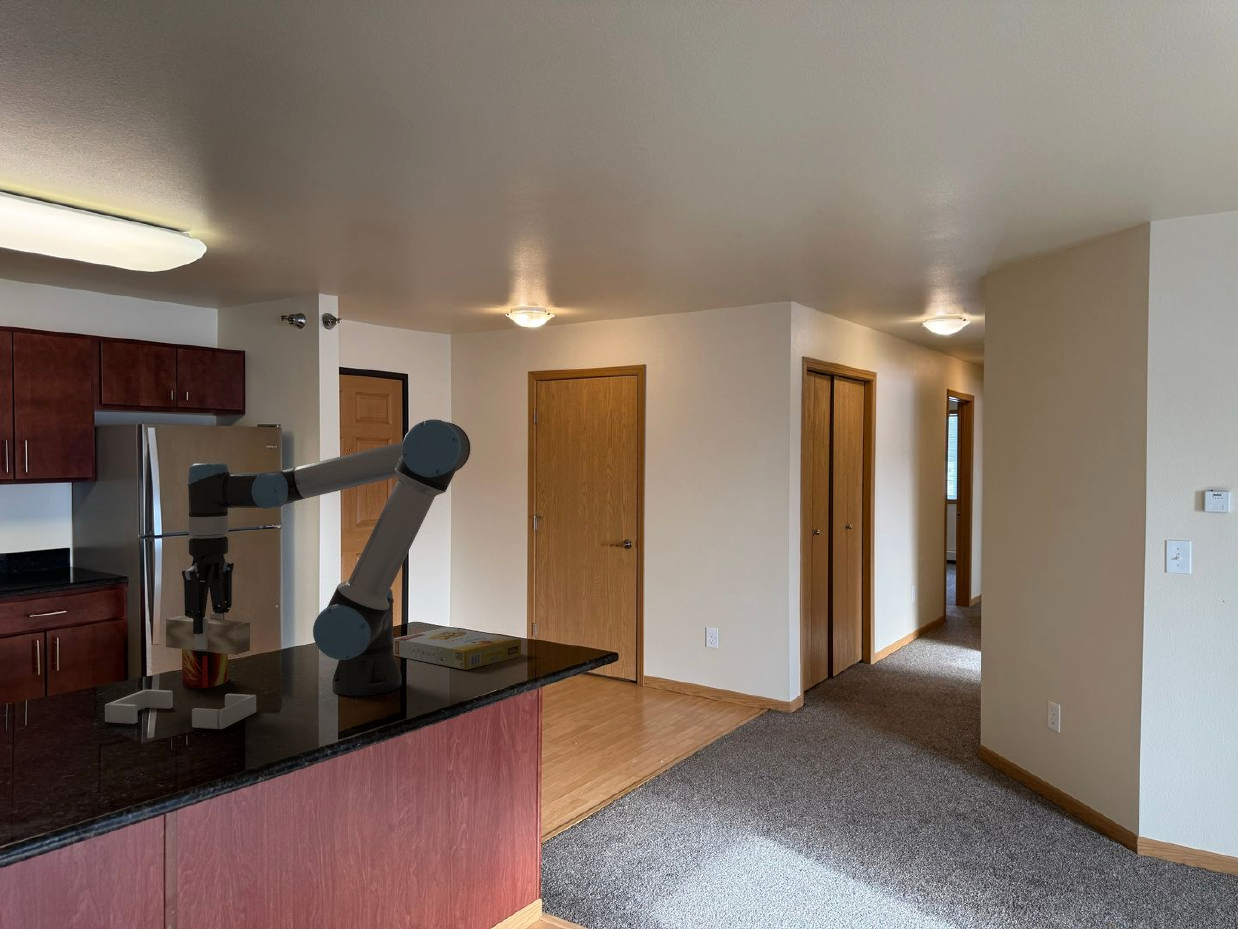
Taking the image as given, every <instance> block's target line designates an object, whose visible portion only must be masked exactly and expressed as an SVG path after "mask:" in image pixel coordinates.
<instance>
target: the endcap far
mask: <svg viewBox="0 0 1238 929" xmlns="http://www.w3.org/2000/svg"><path fill="white" fill-rule="evenodd" d="M173 693H174V691H173V690H166V689H165V690H164V689H163V690H162V689H148V688H147V689H142V690H140V691H138V692H135V693H132V694H129V695H127V696H125V697H122V698H119V699H117V700H114V701H111V702H108V703H105V704H104V722H105V723H115V724H117V723H118V724H130V725H135V724H136V723H138V711H141V710H144V709H147V708H151V709H153V708H154V709H167V710H168V709H172V708H173V707H174V704H173V703H174V702H173V701H174V698H173V695H174V694H173Z"/></svg>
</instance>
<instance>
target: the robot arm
mask: <svg viewBox="0 0 1238 929" xmlns="http://www.w3.org/2000/svg"><path fill="white" fill-rule="evenodd" d="M471 448H472V447H471V441H470V439H469V436H468V435H467V433H466V431H465V430H464V429H463V428H462V427H460V426H459V425H457V424H455V423H453V422H448V421H444V420H441V419H426V420H423V421H421V422H419V423H417V424H415V425H414V426H412V427H411V428H410V429H409V430H408V431H407V433H406V434H405V437H404V438H403V441H401V442H396V443H391V444H387V445H383V446H379V447H374V448H372V449H367V450H363V451H358V452H354V453H349V454H346V455H345V454H344V455H342V456H336V457H332V458H328V459H325V460H320V461H315V462H312V463H308V464H303V465H299V466H296V467H295V466H294V467H290V468H286V469H282V470H277V471H263V472H260V471H259V472H231V471H230V472H229V468H228V467H229V466H228V464H226V463H210V462H209V463H207V462H206V463H204V462H203V463H192V464H191V465H190V466H189V467H188V468H189V469H188V483H187V487H188V488H187V489H188V490H187V492H188V535H189V536H191V537H190V538H189V539H188V554H189V556H191V557H192V562H191V567H189V568H188V569H182V570H181V576H182V580H183V588H184V589H183V591H184V592H183V593H184V594H183V595H184V598H183V600H184V616H186V617H188V618H193V633H194V649H204V650H206V649H208V618H210V619H221V620H225V614H228V613H229V612H230V608H232V604H233V600H232V598H233V571H234V566H235V563H234V562H230V561H229V562H228V561H226V558H225V555H226V554H228V553H229V538H228V537H227V536H226V535H227V534H228V533H229V509H237V508H238V509H263V510H267V509H275V508H276V509H278V508H281V507H283V506H284V505H289V504H292V503H294V502H298V501H302V500H305V499H310V498H313V497H317V496H322V495H323V496H324V495H326V494H330V493H336V492H338V491H339V492H340V491H343V490H348V489H353V488H356V487H360V486H365V485H369V484H374V483H378V482H382V481H385V480H390V479H395V478H397V481H396V482H395V484H394V486H393V488H392V491H391V492H390V495H389V497H388V498H387V501H386V503H385V505H384V507H383V509H382V511H381V512H380V514H379V517H378V519H377V521H376V522H375V523H376V524H375V525H374V527H373V530H372V531H371V533H370V535H369V538H368V540H367V541H366V544H365V546H364V548H363V550H362V552H361V554H360V556H359V557H358V560H357V562H356V564H355V566H354V568H353V570H352V573H351V574H350V577H349V579H348V580H346V581H343V582H340V583H339V584H337V586H336V587H335V590H334V592H333V594H332V597H331V599H330V601H329V602H328V604H327V607H326V608H324V609H323V610H322V611H320V613H319V614H318V615H317V617H316V618H315V621H314V624H313V626H312V635H313V636H312V637H313V640H314V643H315V645H316V647H317V649H319V650H320V652H321V653H322V654H324V655H325V656H326V657H329V658H331V659H333V660H338V662H337V664H336V668H335V671H334V673H333V674H334V675H333V678H332V681H331V682H332V683H331V684H332V685H331V686H332V688H331V689H332V690H331V691H332V692H334V693H335V694H338V695H340V696H342V695H343V696H347V697H349V696H350V697H365V696H366V697H367V696H376V695H381V694H386V693H389V692H392V691H395V690H397V689H399V688H400V687H401V686H402V672H401V671H400V666H399V664H398V661H397V658H396V656H395V655H394V652H393V638H394V602H395V599H394V594H393V590H392V586H393V584H394V583H395V580H396V578H397V576H398V574H399V571H400V569H401V567H402V565H403V564H404V561H405V559H406V557H407V556H408V553H409V551H410V549H411V547H412V545H413V543H414V541H415V539H416V537H417V535H418V533H419V530H420V529H421V526H422V524H423V523H424V522H425V521H424V520H425V519H426V517H427V515H428V513H429V510H430V508H431V506H432V504H433V502H434V500H435V498H436V497H437V496H439V495H442V494H446V492H447V490H448V487H449V486H450V484H451V483H452V480H453V478H454V476H455V473H456V472H458V471H459V470H461V469H462V468H463V467H464V466H465V465H466V464H467V463H468V460H469V458H470V455H471ZM209 595H210V600H211V607H212V612H211V613H209V617H206V610H207V603H208V596H209Z"/></svg>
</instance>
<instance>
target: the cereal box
mask: <svg viewBox="0 0 1238 929" xmlns="http://www.w3.org/2000/svg"><path fill="white" fill-rule="evenodd" d="M521 650H522V640H521V638H515V637H509V636H504V635H498V634H493V633H492V634H491V633H485V632H478V631H475V630H474V631H473V630H468V629H464V628H463V629H462V628H456V627H450V626H446V627H440V628H437V629H432V630H426V631H423V632H418V633H414V634H408V635H403V636H398V637H393V652H394V655H395V657H399V658H405V659H409V660H413V661H421V662H425V663H430V664H435V665H440V666H444V667H449V668H456V669H460V670H465V671H467V670H471V669H475V668H480V667H483V666H488V665H491V664H492V665H493V664H497V663H500V662H504V661H508V660H512V659H515V658H519V657H521V654H522V653H521V652H522V651H521Z"/></svg>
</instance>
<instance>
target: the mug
mask: <svg viewBox="0 0 1238 929" xmlns="http://www.w3.org/2000/svg"><path fill="white" fill-rule="evenodd" d="M228 656H229V654H224V653H215V652H205V651H196V650H187V649H181V664H182V665H181V671H182V672H181V675H182V676H181V678H182V680H181V682H182V687H183V688H186V687H187V689H207V688H212V687H217V686H220V685H223V684H225V683H227V682H228V681H229V660H228V659H229V657H228Z"/></svg>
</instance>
